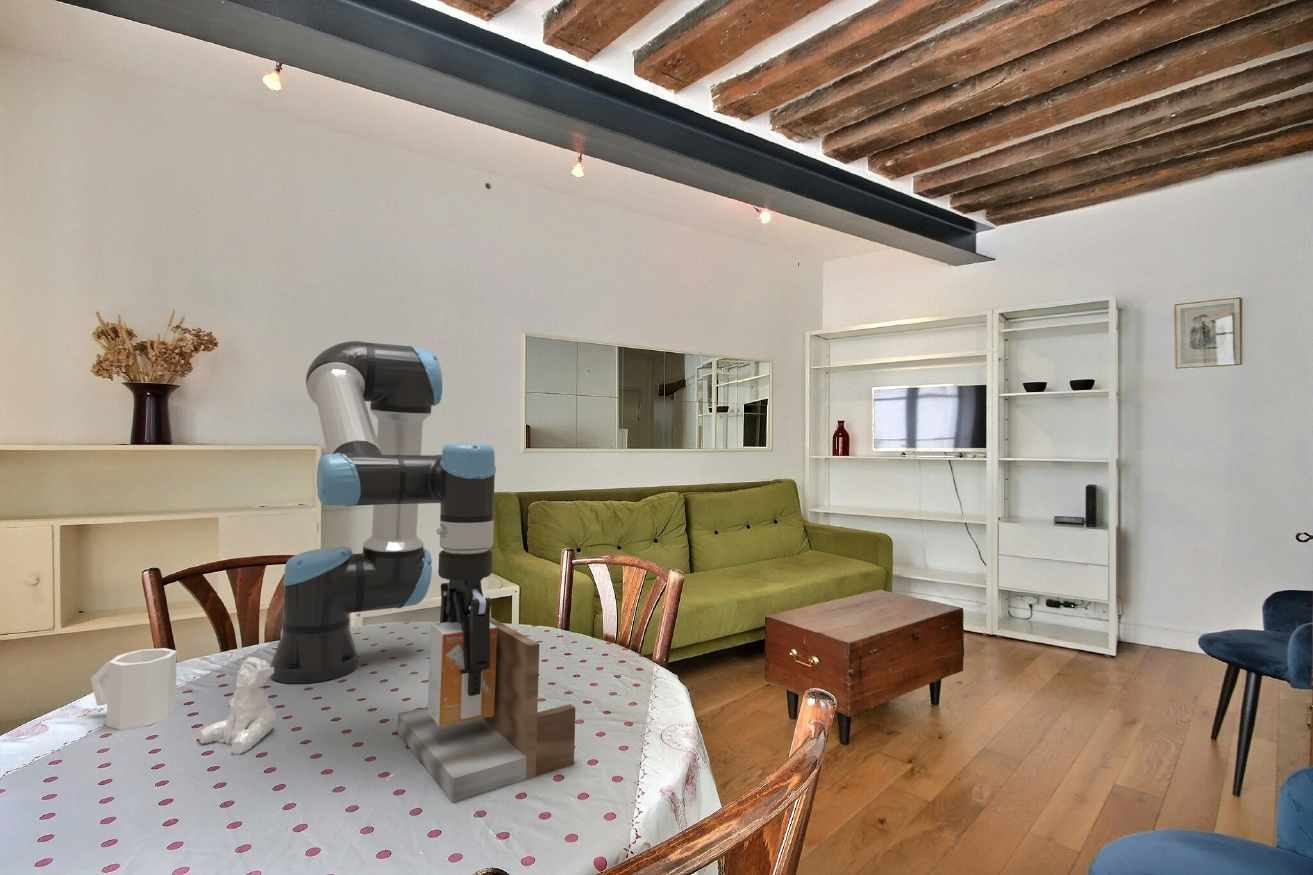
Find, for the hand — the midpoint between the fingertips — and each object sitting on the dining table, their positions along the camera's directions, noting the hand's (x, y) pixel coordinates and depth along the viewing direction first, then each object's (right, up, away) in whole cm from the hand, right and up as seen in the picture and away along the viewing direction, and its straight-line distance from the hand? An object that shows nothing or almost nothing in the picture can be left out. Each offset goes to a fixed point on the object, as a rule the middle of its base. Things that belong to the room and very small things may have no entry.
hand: (461, 707), depth 95 cm
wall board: (+3, -7, +2) cm, 8 cm away
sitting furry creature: (-34, -6, +3) cm, 34 cm away
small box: (0, -1, 0) cm, 1 cm away
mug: (-56, -6, +9) cm, 57 cm away
